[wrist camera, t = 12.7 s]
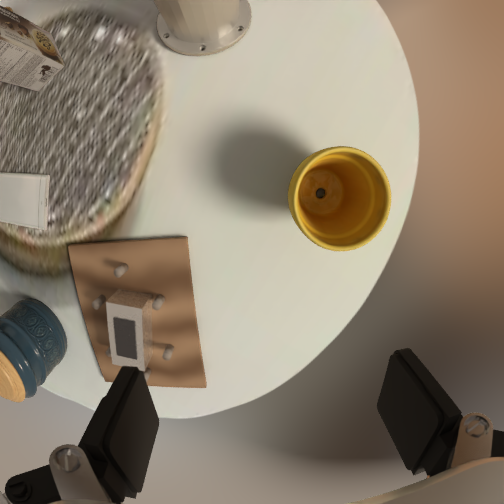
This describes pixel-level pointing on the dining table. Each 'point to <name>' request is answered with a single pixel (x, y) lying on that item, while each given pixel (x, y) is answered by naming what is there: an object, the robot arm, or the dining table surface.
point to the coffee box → (26, 52)
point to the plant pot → (340, 198)
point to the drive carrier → (130, 328)
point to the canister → (28, 348)
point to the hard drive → (24, 199)
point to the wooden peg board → (163, 303)
